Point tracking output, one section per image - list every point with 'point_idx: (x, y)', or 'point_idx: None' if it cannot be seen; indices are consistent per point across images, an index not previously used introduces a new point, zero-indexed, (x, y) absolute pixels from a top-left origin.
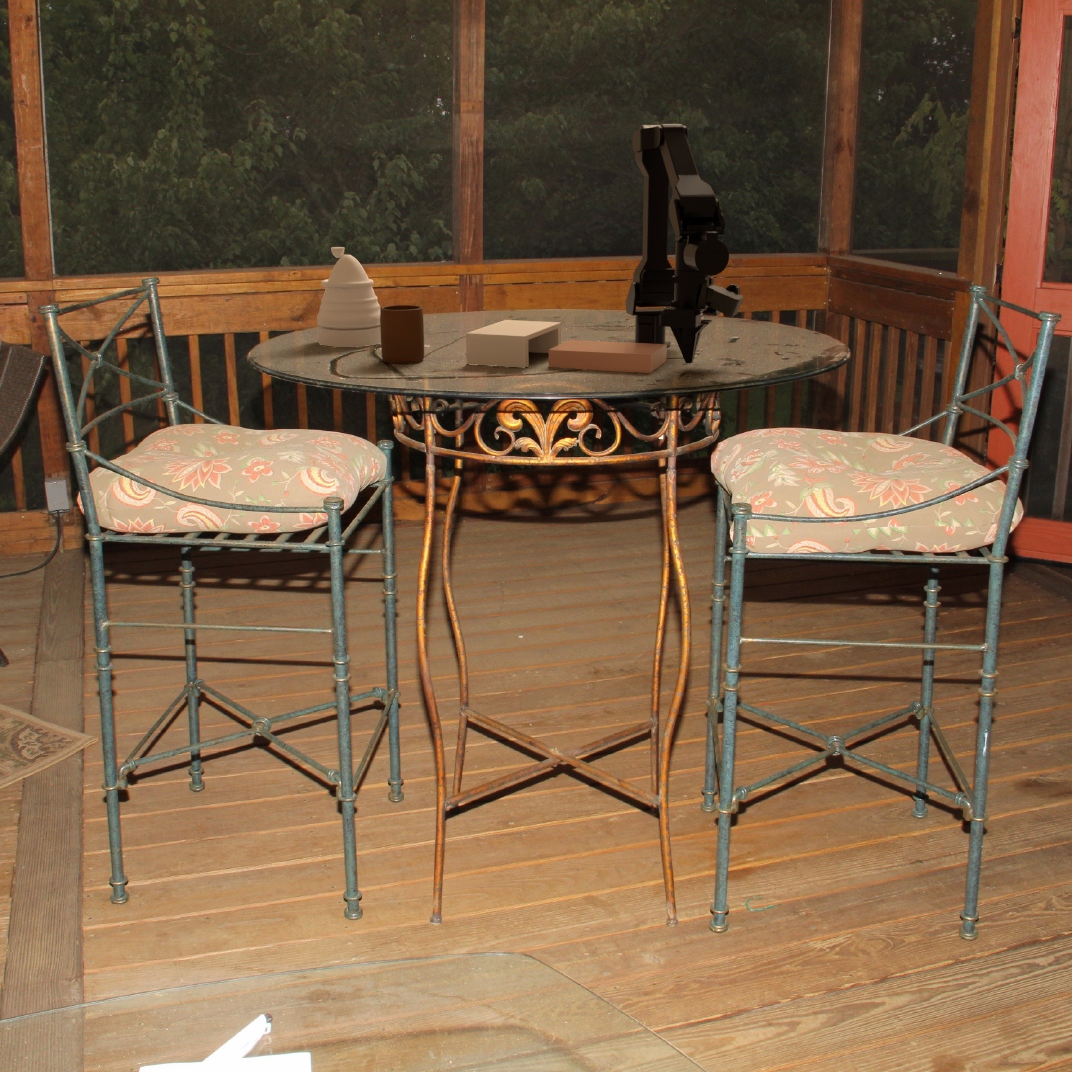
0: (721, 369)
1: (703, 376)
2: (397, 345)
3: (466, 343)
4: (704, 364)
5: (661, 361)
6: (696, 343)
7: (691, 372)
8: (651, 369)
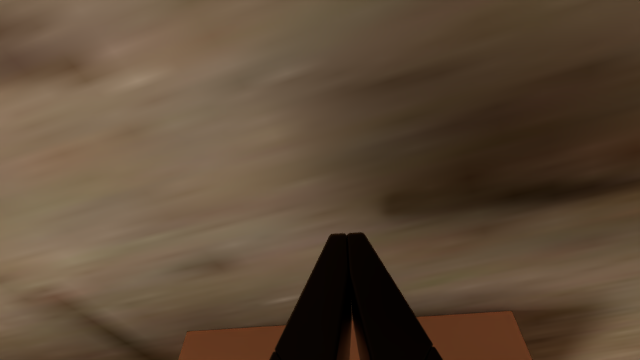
0: (249, 20)
1: (635, 52)
2: None
3: None
4: (135, 189)
5: None
6: (338, 353)
7: (461, 173)
8: (504, 324)
